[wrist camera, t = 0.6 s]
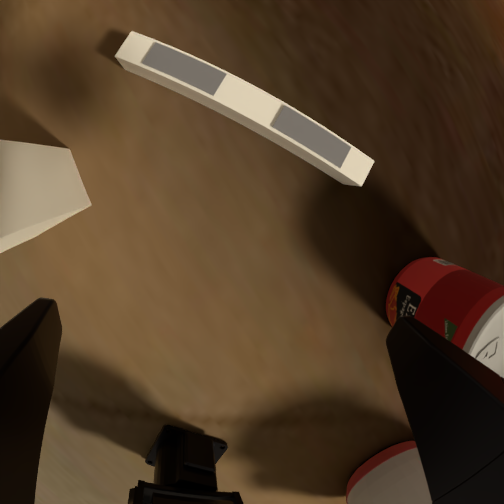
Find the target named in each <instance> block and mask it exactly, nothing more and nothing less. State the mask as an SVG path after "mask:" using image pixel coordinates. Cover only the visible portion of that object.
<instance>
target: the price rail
mask: <svg viewBox="0 0 504 504" xmlns="http://www.w3.org/2000/svg"><path fill="white" fill-rule="evenodd" d="M115 57H116V59H117V60H118V61H119V63H120V64H121V65H122V67H123V68H124V69H125V70H127V71H129V72H132V73H134V74H136V75H139V76H141V77H143V78H146V79H148V80H150V81H153V82H155V83H157V84H159V85H162V86H164V87H166V88H168V89H171V90H173V91H175V92H177V93H179V94H181V95H184V96H186V97H188V98H190V99H192V100H194V101H196V102H198V103H200V104H202V105H204V106H206V107H208V108H210V109H212V110H214V111H216V112H218V113H220V114H222V115H224V116H226V117H228V118H230V119H232V120H234V121H236V122H238V123H240V124H241V125H243V126H245V127H247V128H249V129H251V130H253V131H254V132H256V133H258V134H260V135H262V136H263V137H265V138H267V139H269V140H271V141H272V142H274V143H276V144H278V145H279V146H281V147H283V148H285V149H286V150H288V151H290V152H291V153H293V154H295V155H297V156H298V157H300V158H302V159H303V160H305V161H307V162H308V163H310V164H312V165H313V166H315V167H316V168H318V169H320V170H321V171H323V172H324V173H326V174H328V175H329V176H331V177H332V178H334V179H336V180H337V181H339V182H340V183H342V184H344V185H353V186H361V187H362V185H363V183H364V181H365V179H366V177H367V175H368V173H369V171H370V169H371V167H372V165H373V163H374V161H373V160H372V159H371V158H369V157H368V156H367V155H365V154H364V153H362V152H361V151H359V150H358V149H357V148H355V147H354V146H352V145H351V144H349V143H348V142H346V141H345V140H343V139H342V138H340V137H339V136H337V135H336V134H334V133H333V132H331V131H330V130H328V129H327V128H325V127H324V126H322V125H321V124H319V123H317V122H316V121H314V120H313V119H311V118H309V117H308V116H306V115H304V114H303V113H301V112H300V111H298V110H296V109H295V108H293V107H291V106H289V105H288V104H286V103H284V102H283V101H281V100H279V99H277V98H276V97H274V96H272V95H270V94H268V93H267V92H265V91H263V90H261V89H259V88H257V87H256V86H254V85H252V84H250V83H248V82H246V81H244V80H242V79H240V78H238V77H236V76H235V75H233V74H231V73H229V72H227V71H225V70H222V69H220V68H218V67H216V66H214V65H212V64H210V63H208V62H206V61H204V60H201V59H199V58H197V57H195V56H193V55H190V54H188V53H186V52H183V51H181V50H179V49H176V48H174V47H172V46H169V45H167V44H164V43H162V42H159V41H157V40H154V39H152V38H149V37H147V36H144V35H141V34H138V33H136V32H133V31H131V33H130V34H129V35H128V37H127V38H126V40H125V41H124V43H123V44H122V46H121V47H120V49H119V50H118V52H117V53H116V55H115Z"/></svg>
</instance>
